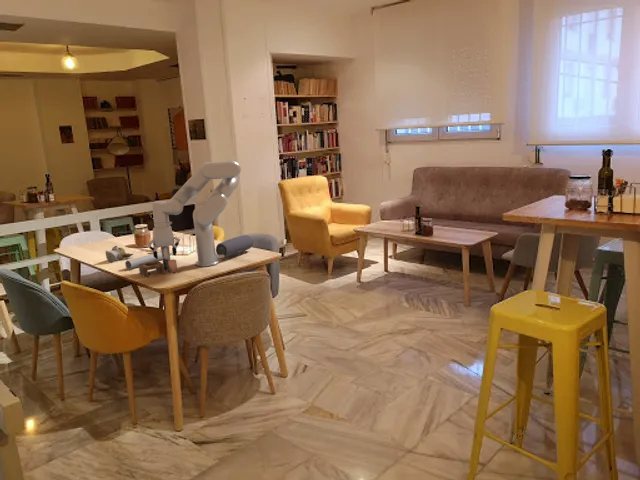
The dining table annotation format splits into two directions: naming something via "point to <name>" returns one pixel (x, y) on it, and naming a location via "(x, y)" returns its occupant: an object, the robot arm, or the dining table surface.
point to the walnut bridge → (151, 267)
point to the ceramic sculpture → (116, 254)
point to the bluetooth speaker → (234, 246)
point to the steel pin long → (165, 256)
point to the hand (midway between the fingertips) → (165, 256)
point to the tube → (142, 260)
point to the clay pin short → (172, 266)
